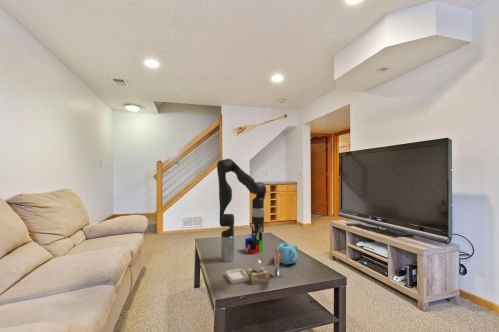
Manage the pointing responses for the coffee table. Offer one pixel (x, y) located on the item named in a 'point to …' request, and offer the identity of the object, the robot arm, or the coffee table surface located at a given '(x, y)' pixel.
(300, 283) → the coffee table surface
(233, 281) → the tray
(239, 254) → the coffee table surface
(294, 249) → the decorative pot
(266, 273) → the block
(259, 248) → the puzzle toy
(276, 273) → the pivot post
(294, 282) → the coffee table surface
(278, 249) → the bar
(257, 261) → the silver metal cylinder
